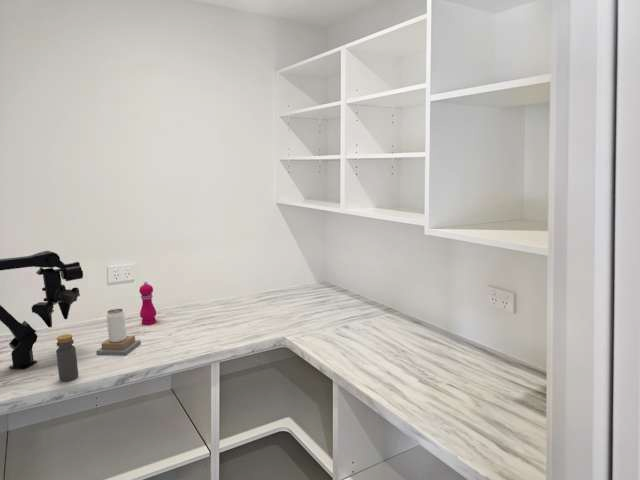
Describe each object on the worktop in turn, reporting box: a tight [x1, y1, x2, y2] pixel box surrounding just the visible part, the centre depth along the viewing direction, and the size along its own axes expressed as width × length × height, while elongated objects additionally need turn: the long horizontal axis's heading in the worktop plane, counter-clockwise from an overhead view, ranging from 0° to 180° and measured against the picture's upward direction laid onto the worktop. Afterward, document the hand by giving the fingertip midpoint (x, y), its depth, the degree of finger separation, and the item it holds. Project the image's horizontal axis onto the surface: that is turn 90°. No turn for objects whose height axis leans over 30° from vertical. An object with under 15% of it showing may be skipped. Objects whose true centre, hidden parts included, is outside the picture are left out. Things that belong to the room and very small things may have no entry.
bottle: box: [55, 333, 79, 382], centre depth 159 cm, size 6×6×15 cm
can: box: [106, 308, 127, 343], centre depth 184 cm, size 6×6×12 cm
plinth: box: [95, 335, 141, 356], centre depth 185 cm, size 12×12×4 cm
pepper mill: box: [138, 280, 157, 326], centre depth 216 cm, size 7×7×20 cm
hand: (58, 323), depth 179 cm, fingers open, 9 cm apart
